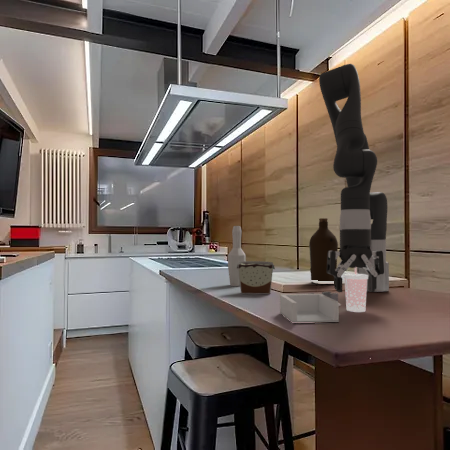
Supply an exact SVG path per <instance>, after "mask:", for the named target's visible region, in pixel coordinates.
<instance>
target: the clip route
mask: <svg viewBox="0 0 450 450" xmlns="http://www.w3.org/2000/svg"><path fill="white" fill-rule="evenodd" d="M308 294H315V293H314V292H310V293H308ZM321 294H323V295H325V296H327V297H329V298H331V299H334V300H336V301H338V302H339V292H337V293H336V292H335V293H334V292H333V293H332V292H331V291H322V292H321ZM341 306H342V303H340V302H339V307H341Z"/></svg>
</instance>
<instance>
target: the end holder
mask: <svg viewBox="0 0 450 450" xmlns="http://www.w3.org/2000/svg"><path fill="white" fill-rule="evenodd" d="M339 303H340V302H339V300H338V301H336V300H334V299H331V298H329V297H327V296H325V295H323V294H322V293H314V294H309V293H296V294H290V293H289V294H284V293H283V294H279V314H280V313H281V314H282V315H284V316H285V317H286V318H288V319H289V320H290V321H292V322H339V323H340V321H339V320H340V319H339V318H340V317H339V316H340V315H339V314H340V313H339V310H340V309H339V308H340V306H339ZM281 314H280V315H281ZM282 315H281V316H282ZM284 316H283V317H284ZM285 317H284V318H285ZM286 318H285V319H286Z"/></svg>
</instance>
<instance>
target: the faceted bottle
mask: <svg viewBox="0 0 450 450" xmlns="http://www.w3.org/2000/svg"><path fill="white" fill-rule="evenodd" d="M231 232H232V235H231V236H232V248H231V249H230V251H229V253H228V254H227V268H228V276H229V286H231V287H240V279H239V269H236V268H237V264H238V262H244V261H247V260H246V259H247V256H246V253H245V252H244V250H243V249H242V232H243V231H242V227H241V226H240V225H233V227H232V230H231Z"/></svg>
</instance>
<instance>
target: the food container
mask: <svg viewBox="0 0 450 450" xmlns="http://www.w3.org/2000/svg"><path fill="white" fill-rule="evenodd" d="M236 269H239V279H240V286H239V287H240V294H243V295H244V294H245V295H246V294H247V295H271V290H272V280H273V271H274V270H276V266H275V264H274V262H272V261H266V260H265V261H263V260H261V261H260V260H258V261H257V260H251V261H250V260H249V261H248V260H246V261H244V262H238V264H237V268H236Z"/></svg>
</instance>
